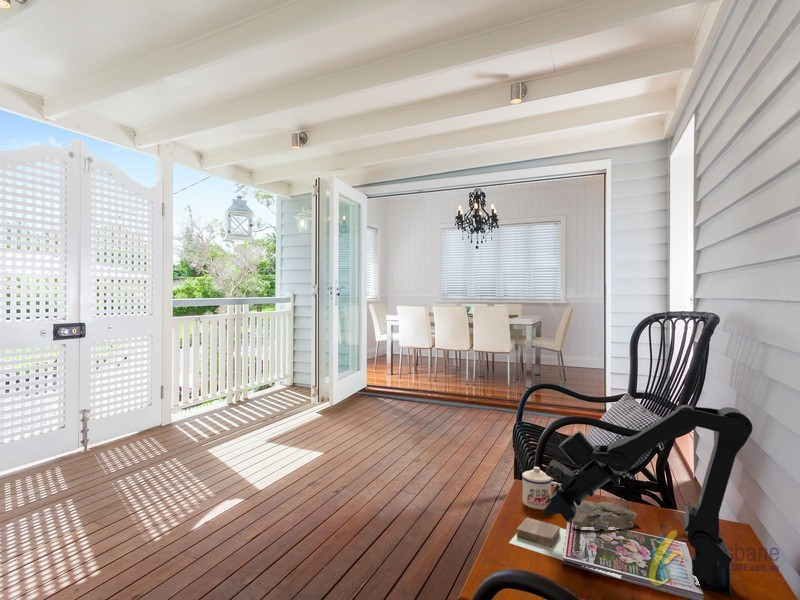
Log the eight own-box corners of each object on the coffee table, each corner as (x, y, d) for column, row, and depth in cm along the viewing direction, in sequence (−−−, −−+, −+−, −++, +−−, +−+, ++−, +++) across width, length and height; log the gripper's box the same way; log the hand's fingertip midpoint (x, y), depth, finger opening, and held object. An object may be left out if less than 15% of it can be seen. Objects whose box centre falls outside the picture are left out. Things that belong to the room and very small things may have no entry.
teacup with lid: (525, 510, 130) (525, 472, 130) (519, 498, 139) (519, 462, 139) (565, 512, 129) (565, 473, 129) (556, 499, 138) (556, 463, 138)
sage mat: (629, 549, 108) (629, 547, 108) (620, 581, 95) (620, 578, 95) (528, 521, 123) (528, 519, 123) (508, 545, 110) (508, 542, 110)
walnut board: (559, 526, 114) (526, 517, 119) (551, 539, 108) (516, 528, 113) (559, 534, 114) (526, 525, 119) (551, 547, 108) (516, 537, 113)
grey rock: (624, 513, 129) (558, 509, 130) (624, 497, 129) (558, 494, 131) (649, 538, 115) (574, 534, 116) (649, 520, 115) (574, 516, 117)
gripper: (570, 443, 119) (530, 475, 124) (558, 463, 102) (513, 499, 107) (601, 477, 114) (558, 509, 119) (594, 503, 98) (545, 539, 103)
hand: (544, 513), depth 112 cm, fingers closed
